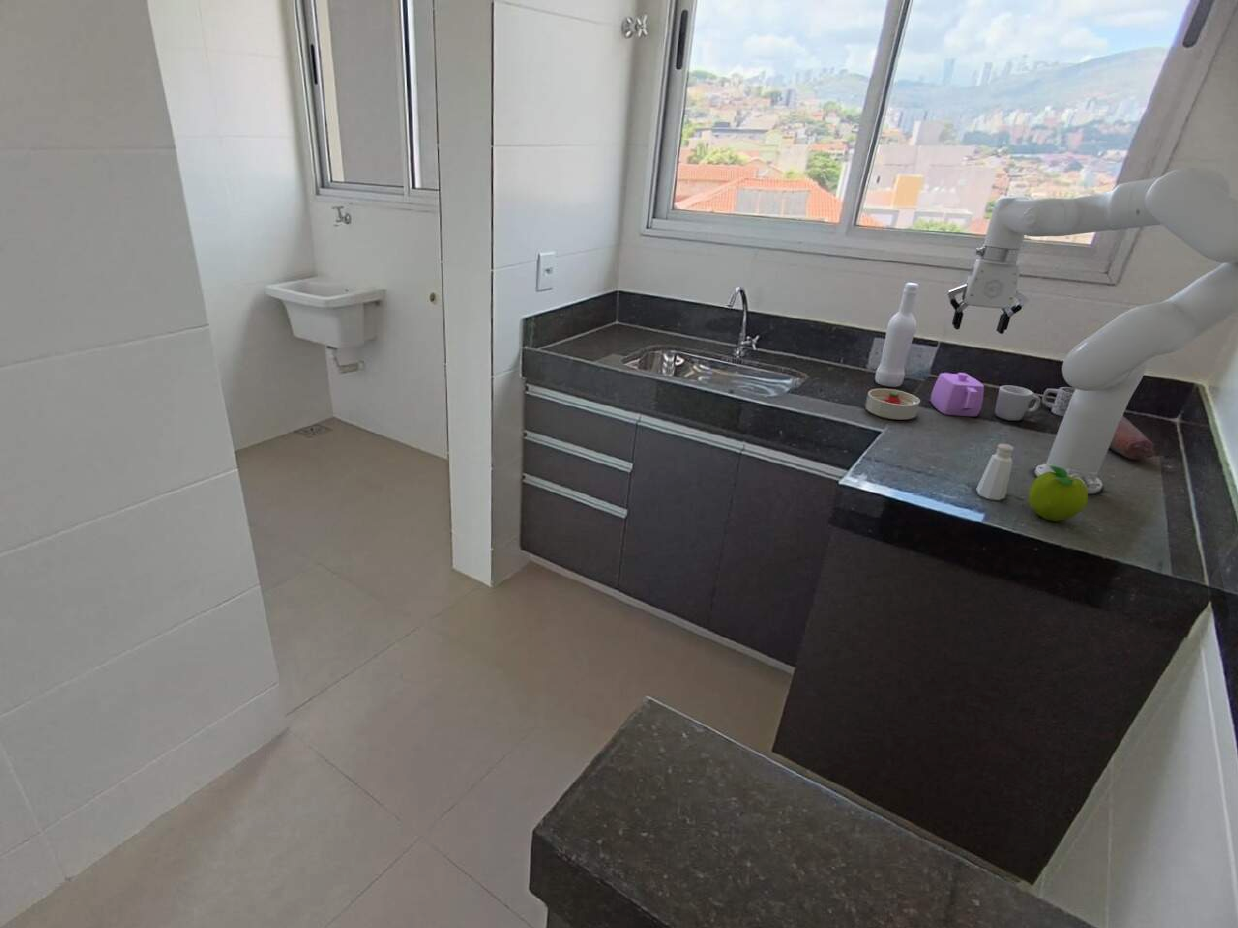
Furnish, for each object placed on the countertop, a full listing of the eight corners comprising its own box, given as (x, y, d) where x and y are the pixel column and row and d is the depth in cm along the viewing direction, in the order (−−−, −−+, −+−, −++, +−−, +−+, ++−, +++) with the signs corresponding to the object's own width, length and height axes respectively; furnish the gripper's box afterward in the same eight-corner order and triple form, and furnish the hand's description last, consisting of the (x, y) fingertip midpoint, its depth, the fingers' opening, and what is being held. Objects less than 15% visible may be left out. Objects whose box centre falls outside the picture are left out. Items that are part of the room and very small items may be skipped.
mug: (1081, 414, 184) (1090, 392, 181) (1074, 419, 180) (1083, 396, 177) (1043, 404, 191) (1050, 382, 188) (1035, 408, 187) (1043, 386, 184)
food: (1067, 429, 173) (1079, 397, 169) (1102, 430, 174) (1115, 399, 170) (1124, 463, 154) (1139, 428, 150) (1163, 465, 154) (1179, 430, 151)
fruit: (1024, 522, 126) (1042, 475, 122) (1020, 501, 134) (1037, 457, 129) (1080, 535, 123) (1100, 487, 118) (1072, 513, 130) (1091, 468, 126)
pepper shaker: (977, 485, 139) (993, 438, 135) (1006, 493, 137) (1023, 445, 132) (973, 494, 135) (989, 446, 131) (1002, 503, 133) (1020, 454, 128)
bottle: (883, 377, 206) (906, 279, 193) (907, 384, 200) (932, 285, 187) (868, 381, 201) (891, 282, 188) (893, 389, 196) (918, 287, 182)
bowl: (919, 424, 170) (924, 408, 169) (867, 417, 173) (871, 401, 171) (911, 407, 182) (915, 392, 180) (862, 401, 184) (866, 386, 182)
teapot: (921, 396, 191) (930, 362, 187) (957, 398, 191) (967, 364, 187) (946, 419, 175) (957, 382, 170) (986, 421, 175) (998, 385, 170)
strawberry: (898, 413, 175) (903, 396, 173) (883, 411, 176) (887, 394, 174) (896, 408, 179) (901, 391, 177) (881, 406, 179) (885, 389, 177)
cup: (1026, 414, 182) (1036, 387, 178) (1040, 425, 175) (1050, 397, 171) (986, 411, 182) (995, 383, 179) (998, 421, 175) (1007, 393, 172)
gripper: (962, 254, 147) (942, 330, 154) (1046, 261, 144) (1022, 338, 151) (954, 250, 153) (935, 323, 161) (1035, 256, 150) (1012, 330, 158)
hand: (977, 330), depth 156 cm, fingers open, 9 cm apart
